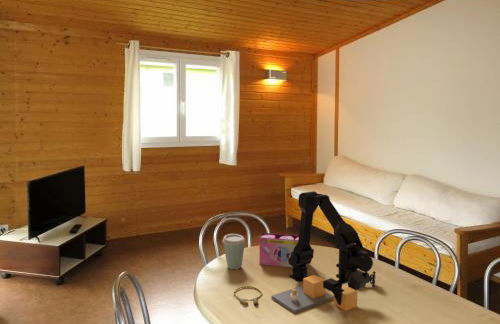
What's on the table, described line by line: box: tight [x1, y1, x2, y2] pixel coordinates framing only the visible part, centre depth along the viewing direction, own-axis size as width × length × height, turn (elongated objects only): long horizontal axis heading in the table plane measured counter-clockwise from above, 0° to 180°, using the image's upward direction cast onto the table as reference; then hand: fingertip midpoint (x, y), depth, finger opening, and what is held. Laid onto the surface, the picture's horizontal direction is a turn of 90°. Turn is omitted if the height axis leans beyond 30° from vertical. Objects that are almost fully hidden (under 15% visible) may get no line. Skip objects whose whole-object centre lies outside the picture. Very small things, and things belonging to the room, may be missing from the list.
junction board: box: [270, 274, 334, 314], centre depth 155 cm, size 14×20×7 cm
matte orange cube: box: [333, 284, 358, 311], centre depth 150 cm, size 6×6×6 cm
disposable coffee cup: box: [222, 233, 246, 270], centre depth 186 cm, size 11×11×15 cm
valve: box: [346, 270, 377, 288], centre depth 168 cm, size 7×7×12 cm
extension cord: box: [233, 285, 263, 307], centre depth 158 cm, size 12×16×2 cm
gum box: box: [258, 232, 308, 268], centre depth 190 cm, size 24×8×14 cm, turn 76°
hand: (345, 302), depth 150 cm, fingers open, 6 cm apart
